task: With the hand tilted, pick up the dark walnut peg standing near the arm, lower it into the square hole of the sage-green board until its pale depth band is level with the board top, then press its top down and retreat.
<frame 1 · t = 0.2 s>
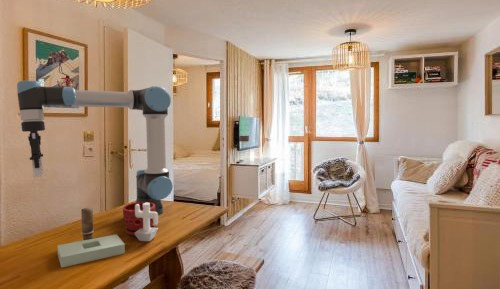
hand: (38, 174, 124), 26 cm above the table, tool pointing down, fingers open, 13 cm apart
board: (91, 254, 113), on the table
figurine: (146, 239, 129), on the table, touching plant pot
plant pot: (139, 233, 136), on the table, touching figurine
peg: (87, 240, 126), on the table
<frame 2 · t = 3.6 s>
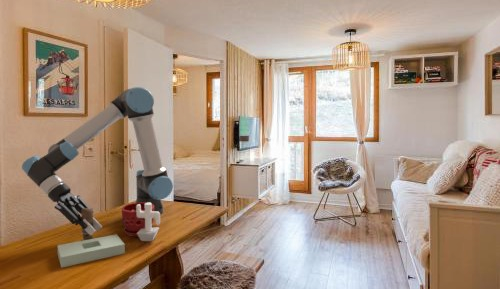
hand: (96, 231, 125), 4 cm above the table, tool tilted 45°, fingers closed on peg, 4 cm apart
peg: (87, 240, 126), on the table, touching gripper
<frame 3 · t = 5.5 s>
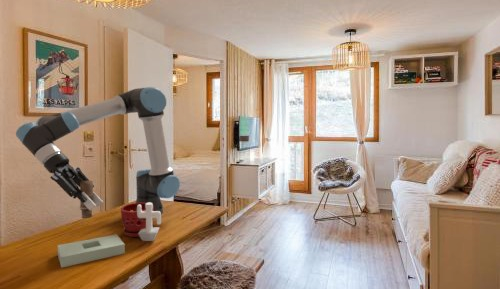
hand: (96, 206, 113), 17 cm above the table, tool tilted 45°, fingers closed on peg, 4 cm apart
peg: (86, 216, 114), point 13 cm above the table, touching gripper
when the fingers open (6 cm above the table, at t = 7.6 s): peg drops 1 cm, resting in board.
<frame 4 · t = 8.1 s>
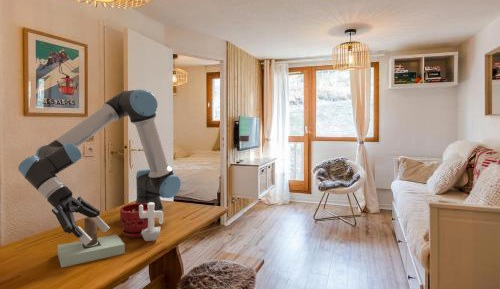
hand: (98, 236, 113), 7 cm above the table, tool tilted 45°, fingers open, 11 cm apart
peg: (91, 254, 113), resting in board
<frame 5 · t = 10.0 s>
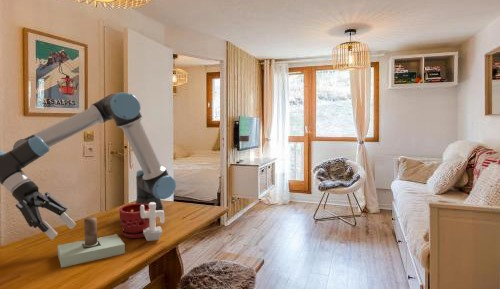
hand: (64, 231, 114), 8 cm above the table, tool tilted 45°, fingers open, 10 cm apart
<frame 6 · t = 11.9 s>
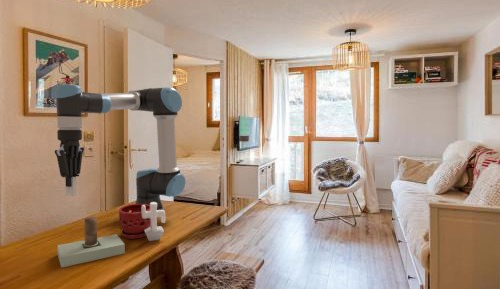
hand: (71, 195, 112), 22 cm above the table, tool pointing down, fingers closed
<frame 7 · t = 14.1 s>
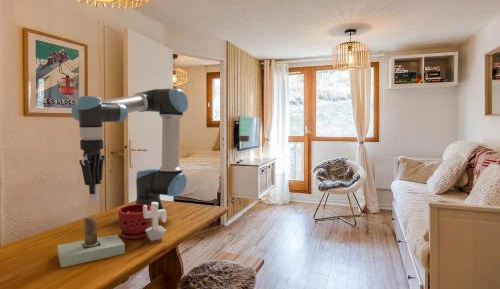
hand: (94, 201, 117), 18 cm above the table, tool pointing down, fingers closed
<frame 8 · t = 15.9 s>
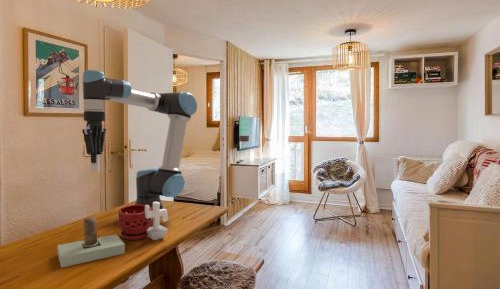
hand: (95, 170, 124), 28 cm above the table, tool pointing down, fingers closed
at the end: peg 0.1 cm off-centre on the board, point 0.0 cm above the board's base; peg tilted 1°; the gripper is holding nothing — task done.
